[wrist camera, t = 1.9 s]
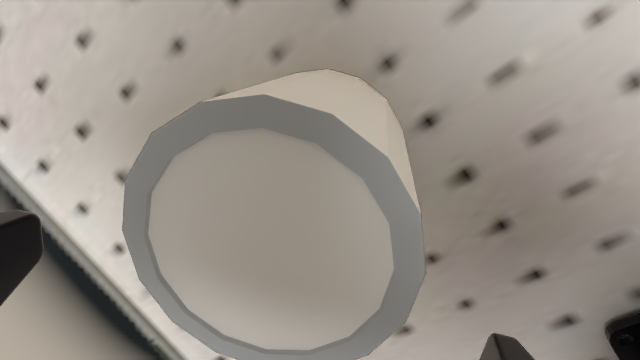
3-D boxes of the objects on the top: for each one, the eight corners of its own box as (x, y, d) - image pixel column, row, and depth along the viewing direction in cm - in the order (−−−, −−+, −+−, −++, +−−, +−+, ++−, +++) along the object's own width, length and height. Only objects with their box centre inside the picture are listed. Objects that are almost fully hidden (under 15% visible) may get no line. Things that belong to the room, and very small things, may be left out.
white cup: (436, 56, 14) (451, 111, 8) (411, 246, 17) (406, 400, 11) (227, 42, 16) (95, 81, 9) (234, 223, 18) (136, 349, 12)
